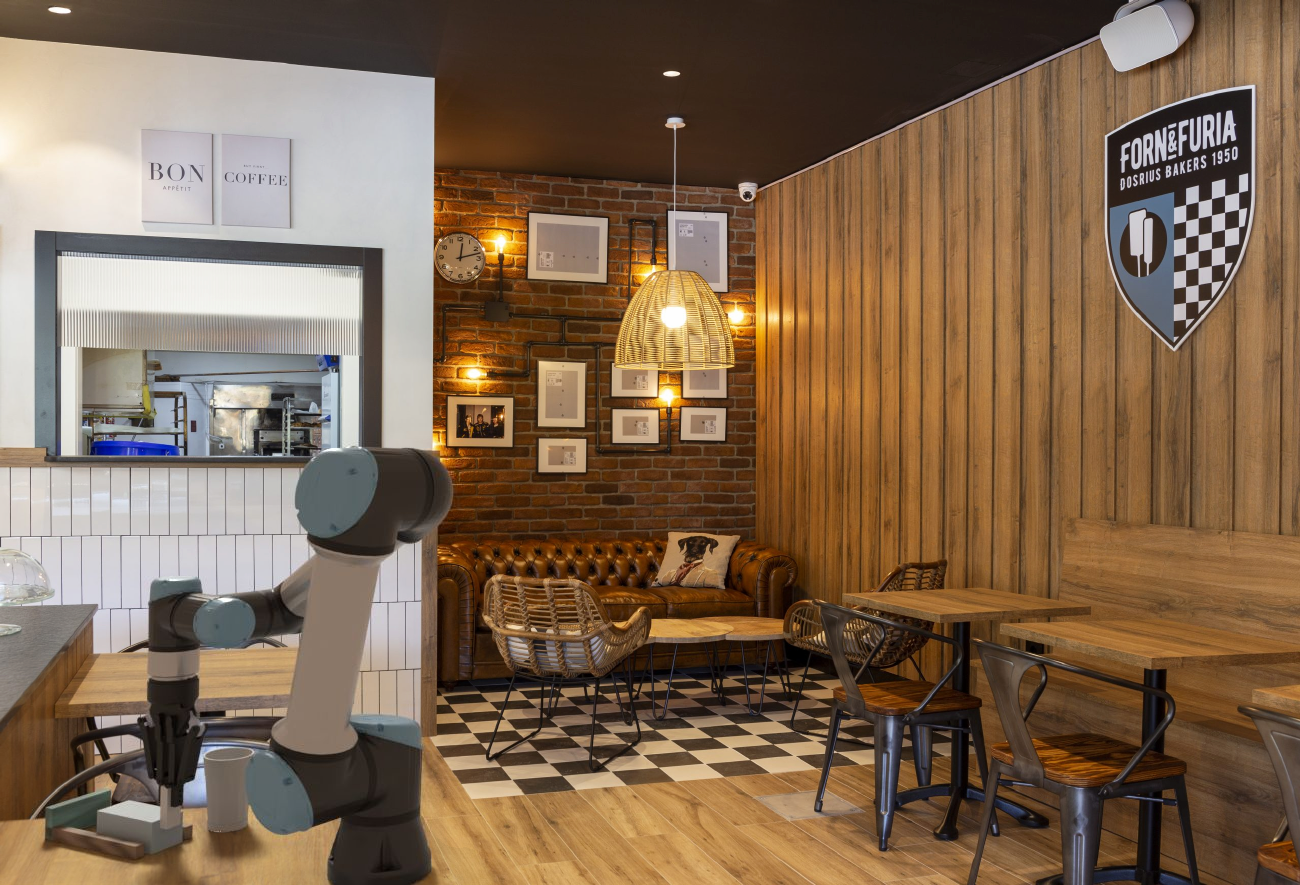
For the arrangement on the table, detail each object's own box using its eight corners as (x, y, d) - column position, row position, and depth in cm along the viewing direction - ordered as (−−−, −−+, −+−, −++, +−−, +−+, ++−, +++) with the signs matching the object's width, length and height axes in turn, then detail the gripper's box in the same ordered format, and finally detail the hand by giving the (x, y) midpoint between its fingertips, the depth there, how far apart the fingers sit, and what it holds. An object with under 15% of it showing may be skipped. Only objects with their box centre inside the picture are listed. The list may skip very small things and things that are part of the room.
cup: (203, 820, 184) (205, 748, 184) (254, 816, 187) (255, 745, 187) (199, 836, 177) (201, 762, 177) (251, 831, 179) (253, 758, 179)
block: (182, 842, 174) (183, 811, 174) (151, 855, 169) (152, 822, 169) (128, 830, 179) (128, 800, 179) (96, 842, 173) (97, 810, 173)
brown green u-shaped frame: (192, 837, 176) (193, 806, 176) (135, 859, 166) (136, 827, 166) (104, 818, 184) (104, 788, 184) (44, 839, 174) (45, 807, 174)
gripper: (223, 675, 172) (219, 825, 172) (162, 667, 177) (159, 812, 177) (185, 684, 165) (181, 840, 165) (123, 675, 170) (120, 827, 170)
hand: (170, 826), depth 171 cm, fingers closed
